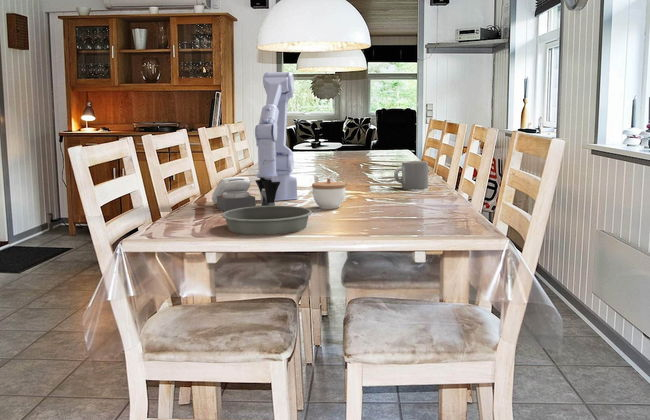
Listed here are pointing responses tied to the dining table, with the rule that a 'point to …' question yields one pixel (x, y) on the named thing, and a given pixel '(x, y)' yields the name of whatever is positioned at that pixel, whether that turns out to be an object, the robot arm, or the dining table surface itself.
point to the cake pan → (267, 219)
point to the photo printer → (231, 186)
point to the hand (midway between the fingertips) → (268, 201)
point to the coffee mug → (413, 174)
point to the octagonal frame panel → (235, 200)
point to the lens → (265, 199)
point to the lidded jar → (329, 194)
